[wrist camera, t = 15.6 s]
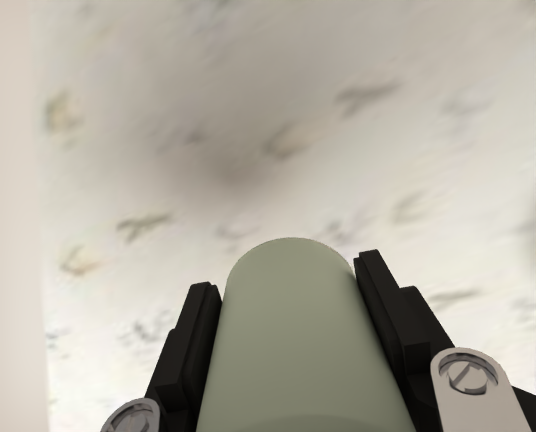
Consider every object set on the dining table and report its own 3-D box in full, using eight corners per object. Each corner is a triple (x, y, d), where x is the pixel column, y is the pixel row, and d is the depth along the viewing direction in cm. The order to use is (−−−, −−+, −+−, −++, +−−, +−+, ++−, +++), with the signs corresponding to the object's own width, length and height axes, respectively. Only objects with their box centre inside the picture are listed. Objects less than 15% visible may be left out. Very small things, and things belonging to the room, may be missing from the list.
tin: (208, 252, 11) (147, 437, 6) (348, 224, 11) (428, 395, 5) (243, 356, 13) (223, 576, 7) (365, 335, 12) (439, 553, 7)
